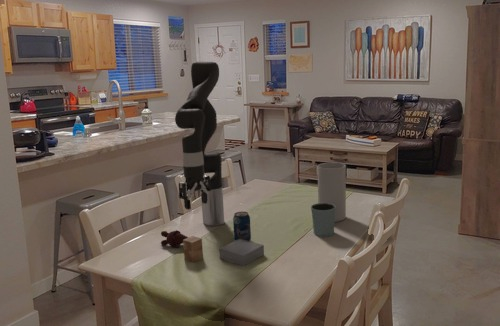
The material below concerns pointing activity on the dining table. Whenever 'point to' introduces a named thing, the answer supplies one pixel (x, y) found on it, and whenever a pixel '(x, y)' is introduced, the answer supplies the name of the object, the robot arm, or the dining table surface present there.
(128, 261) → the dining table surface
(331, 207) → the blue gray cup
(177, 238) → the dark brown animal figure
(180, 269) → the dining table surface
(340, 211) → the cylinder vase
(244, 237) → the soda can
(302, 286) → the dining table surface
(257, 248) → the slate base
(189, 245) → the walnut block
